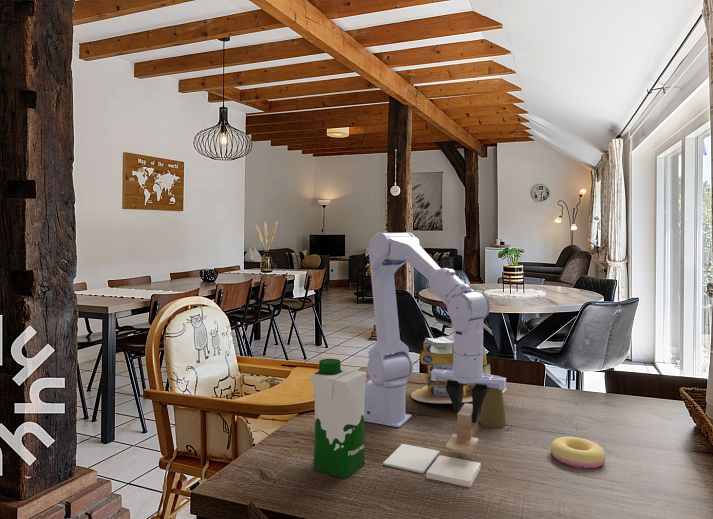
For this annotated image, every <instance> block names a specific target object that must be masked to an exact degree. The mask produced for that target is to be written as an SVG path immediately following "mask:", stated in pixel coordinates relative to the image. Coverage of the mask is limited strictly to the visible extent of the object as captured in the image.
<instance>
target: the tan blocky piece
mask: <svg viewBox="0 0 713 519" xmlns="http://www.w3.org/2000/svg"><path fill="white" fill-rule="evenodd" d="M472 411H473V403H471V404H470V403H469V402H464V404H462V408H461V409H460V411H459V412H458V413H457V420H456V433H453V434H452V435H451V436H450V438H449V439H448V441H447V442H446V444H445V448H446V449H452V450H456V451H457V450H458V451H463V452H467V453H468V452H469V453H473V451H474V450H475V448H476V446H477V445H478V442H479V438H478V437H475V436H476V434H477V433H478V427H479V425H478V421H479V420H478V421H477V422H476V423H472Z"/></svg>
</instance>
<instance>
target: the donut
mask: <svg viewBox="0 0 713 519" xmlns="http://www.w3.org/2000/svg"><path fill="white" fill-rule="evenodd" d="M549 449H550V452H551V454H552V456H553V457H554V458H555V459H556V460H557V461H559V462H561V463H562V464H565V465H567V466H571V467H574V468H580V469H596V468H599V467H601V466H602V465H603V464H604V463H605V462H606V458H607V455H606V452H605V450H604V449H603V448H602V446H600V445H599V444H597V443H596V442H593V441H591V440H589V439H586V438H583V437H579V436H577V437H575V436H561V437H557V438H555V439H554V440H552V442H551V444H550V448H549Z"/></svg>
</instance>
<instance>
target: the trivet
mask: <svg viewBox="0 0 713 519" xmlns="http://www.w3.org/2000/svg"><path fill="white" fill-rule="evenodd" d="M440 453H441V452H440V450H436V449H431V448H427V447H426V448H425V447H422V446H417V445H416V446H415V445H410V444H406V443H401V444H400V445H399V446H398V448H396V449H395V450H394V451H393V452H392V453H391V454H390V456H389V457H387V458H386V459H385V460H384V461H383V463H382V465H383V466H387V467H391V468H396V469H399V470H405V471H409V472H414V473H418V474H424V473H425V472H427V470H428V469H429V468H430V465H432V464H433V463H434V461H435V460H436V459H437V458H438V456H439V455H440Z"/></svg>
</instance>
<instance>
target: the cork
mask: <svg viewBox="0 0 713 519" xmlns="http://www.w3.org/2000/svg"><path fill="white" fill-rule="evenodd" d="M492 375H493V376H497V377H501V376H500V375H495V374H492ZM502 391H503V390H499V389H498V388H491V387H489V389H488V391H487V393H486V395H485V398H484V400H483V402H482V405H481V408H480V412H479V419H478V421H479V424H480V425H481V426H484V427H488V428H494V429H495V428H497V429H498V428H503V427H505V426H507V423H506V422H507V420H506V413H505V412H506V411H505V404H504V396H503V393H502Z"/></svg>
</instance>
